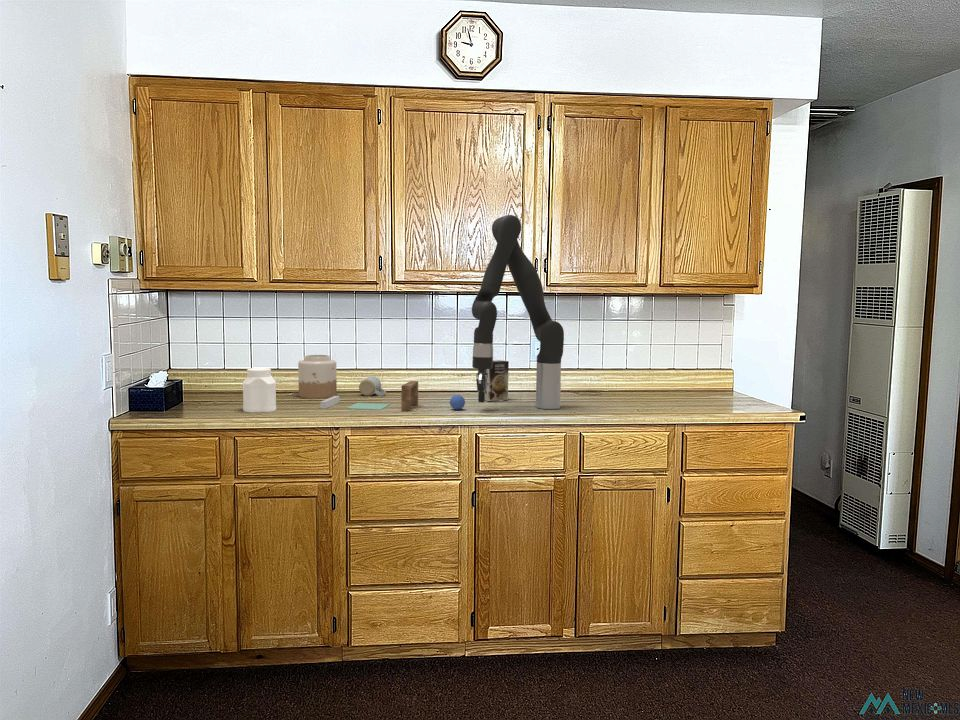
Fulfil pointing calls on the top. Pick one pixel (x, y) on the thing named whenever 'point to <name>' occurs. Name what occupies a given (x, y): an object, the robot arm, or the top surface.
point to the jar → (259, 391)
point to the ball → (457, 402)
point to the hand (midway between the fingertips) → (481, 402)
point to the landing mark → (368, 406)
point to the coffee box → (497, 381)
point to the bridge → (409, 395)
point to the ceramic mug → (371, 387)
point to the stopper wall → (329, 402)
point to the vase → (317, 377)
